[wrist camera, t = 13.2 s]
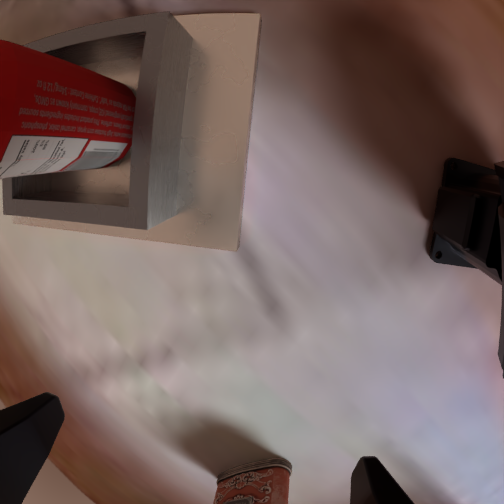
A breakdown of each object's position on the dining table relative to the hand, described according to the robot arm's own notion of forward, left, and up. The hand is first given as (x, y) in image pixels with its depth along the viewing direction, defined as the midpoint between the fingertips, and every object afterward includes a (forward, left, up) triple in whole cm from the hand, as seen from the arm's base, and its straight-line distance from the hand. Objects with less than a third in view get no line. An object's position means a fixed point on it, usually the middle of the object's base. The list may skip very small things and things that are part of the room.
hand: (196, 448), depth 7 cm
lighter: (-2, +20, -13) cm, 24 cm away
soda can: (+10, -9, -12) cm, 18 cm away
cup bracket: (+10, -9, -13) cm, 19 cm away
